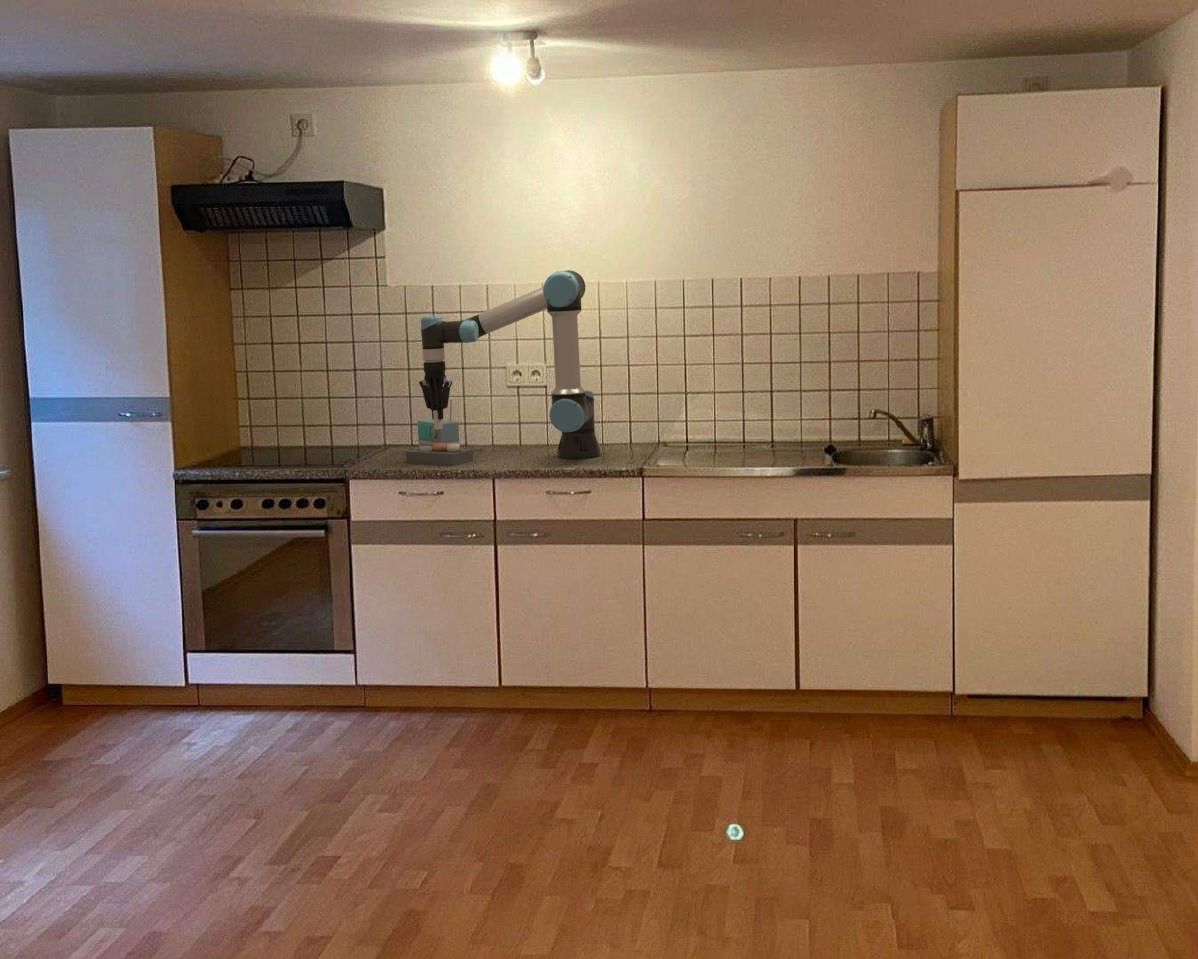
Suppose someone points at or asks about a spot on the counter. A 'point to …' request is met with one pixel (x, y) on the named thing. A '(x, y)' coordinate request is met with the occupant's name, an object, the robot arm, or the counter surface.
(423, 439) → the radio
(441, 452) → the grey piece
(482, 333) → the robot arm
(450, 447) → the button ivory
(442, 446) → the button terracotta
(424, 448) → the button sage
